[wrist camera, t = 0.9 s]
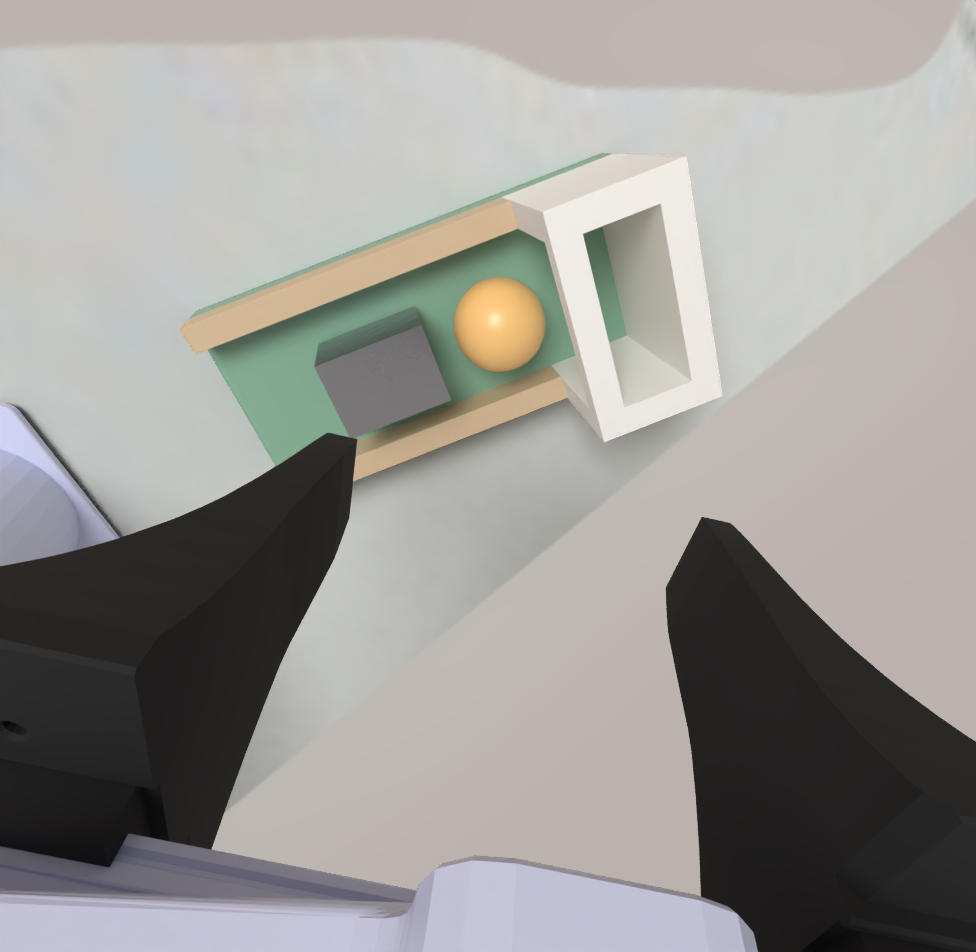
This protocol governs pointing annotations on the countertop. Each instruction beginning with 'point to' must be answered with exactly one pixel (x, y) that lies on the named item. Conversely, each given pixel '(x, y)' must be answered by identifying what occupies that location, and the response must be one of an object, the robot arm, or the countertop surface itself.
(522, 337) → the ball
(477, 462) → the countertop surface
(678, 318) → the pitch
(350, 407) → the block
